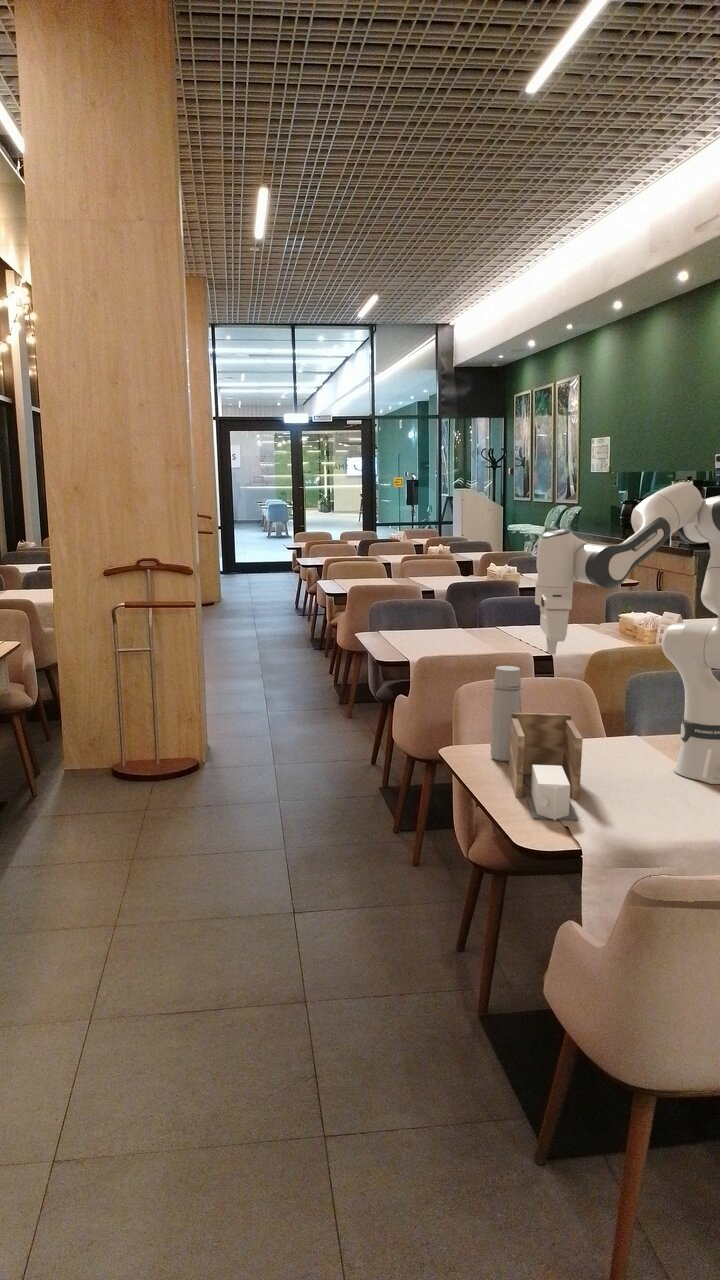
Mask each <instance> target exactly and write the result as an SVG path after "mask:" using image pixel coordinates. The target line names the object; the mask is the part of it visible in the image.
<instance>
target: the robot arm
mask: <svg viewBox="0 0 720 1280" xmlns="http://www.w3.org/2000/svg"><path fill="white" fill-rule="evenodd" d="M630 523H631V527H632V529H633V532H634V533H633V534H632V535H630V536H629V537H628V538H627V539H626V540H624V541H623V542H621V543H619V544H614V545H613V544H612V545H611V544H609V545H603V544H597V543H596V544H595V543H591V542H590V543H588V542H587V541H584V540H583V539H581V538H579V537H577V536H576V535H575V534H574V533H573V531H572V530H569V529H555V530H550V531H546V532H544V533H543V534H542V535H541V536H540V538H539V541H538V545H537V551H536V571H537V576H536V577H537V578H536V581H535V592H534V594H535V596H534V604H535V605H536V606H539V611H540V620H539V621H540V623H539V625H540V629H541V630H542V632H543V634H545V636H546V637H545V639H546V652H547V653H548V654H549V655H556V654H557V646H558V642H563V643H564V642H565V641H566V638H567V632H568V626H569V617H570V614H569V613H570V610H572V609H573V589H574V588H573V587H574V584H573V583H574V582H575V581H576V582H579V583H583V584H589V585H593V586H597V587H600V588H603V589H614V588H617V587H619V586H620V585H621V584H622V583H623V582H624V581H625V580H626V579H627V578H628V577H629V576H630V574H631V572H632V571H633V570H634V569H635V568H636V567H637V566H638V565H640V563H641V562H643V561H644V560H645V559H646V558H648V557H649V556H650V555H652V554H653V553H654V552H655V551H657V550H658V549H659V548H660V547H661V546H663V544H665V542H666V541H667V540H668V539H669V537H670V536H671V535H672V534H674V533H676V534H677V536H678V537H679V538H680V539H681V540H682V541H684V542H685V543H688V544H692V545H701V544H704V543H708V545H709V548H710V549H709V551H710V557H709V559H708V562H707V563H708V564H707V568H706V571H705V576H704V580H703V584H702V588H701V592H700V600H701V603H702V605H703V606H704V607H705V608H706V609H708V610H709V611H710V612H712V613H713V614H715V615H717V623H716V624H707V623H700V622H699V623H697V622H679V623H672V624H670V625H669V626H668V627H667V628H666V629H665V630H664V632H663V634H662V637H661V644H660V645H661V649H662V652H663V654H664V656H665V657H666V659H667V660H669V662H671V663H672V665H674V667H675V668H676V670H677V672H678V673H679V675H680V678H681V680H682V683H683V687H684V714H683V715H684V716H683V717H682V720H681V725H680V739H681V741H680V742H681V743H680V746H679V752H678V755H677V758H676V763H675V765H674V768H673V771H674V772H675V773H676V774H678V775H680V776H682V777H685V778H688V779H692V780H698V781H701V782H704V783H706V784H711V785H720V681H719V680H718V679H717V678H716V677H715V676H714V674H713V672H712V669H716V670H720V495H716V496H711V497H707V498H703V497H702V494H701V492H700V490H699V489H698V488H697V487H696V486H695V485H693V484H692V483H690V482H686V481H682V482H681V481H680V482H677V483H676V482H675V483H673V484H671V485H668V486H667V487H664V488H662V489H660V490H658V491H655V492H654V493H652V494H651V495H649V496H647V497H646V498H645V499H643V500H641V501H640V502H639V503H638V504H637V505H635V507H634V508H633V510H632V513H631V517H630Z"/></svg>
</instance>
